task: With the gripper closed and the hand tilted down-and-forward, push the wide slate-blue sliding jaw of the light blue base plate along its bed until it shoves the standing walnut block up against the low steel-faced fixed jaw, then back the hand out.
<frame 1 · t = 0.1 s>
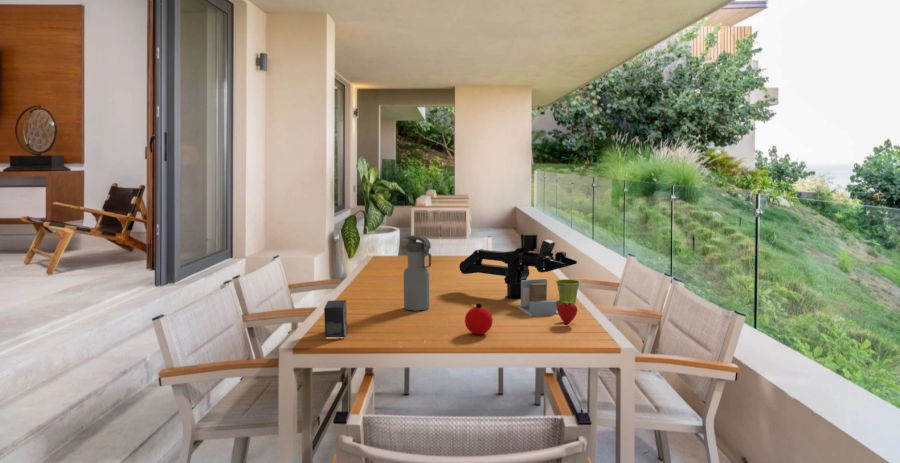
hand: (571, 263, 238), 17 cm above the table, tool horizontal, fingers open, 9 cm apart
ornament: (478, 334, 200), on the table
small box: (336, 335, 199), on the table
jaw: (534, 293, 232), point 6 cm above the table, slide at 0.0 cm
block: (537, 310, 229), point 1 cm above the table, touching light blue base plate
light blue base plate: (537, 312, 228), on the table
fixed jaw: (542, 315, 224), resting on light blue base plate
strawberry: (566, 325, 211), on the table
plant pot: (567, 303, 245), on the table
water bottle: (417, 309, 236), on the table
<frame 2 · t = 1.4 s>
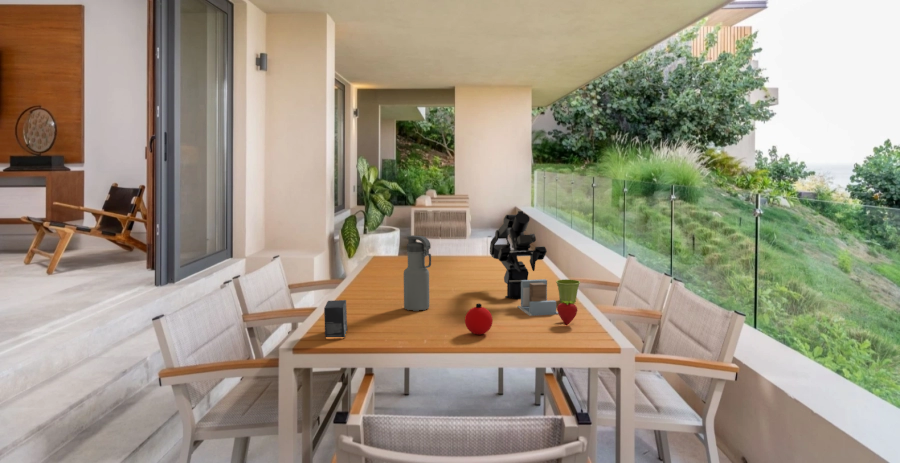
hand: (527, 270, 240), 14 cm above the table, tool tilted 45°, fingers open, 5 cm apart
nothing on the table moved.
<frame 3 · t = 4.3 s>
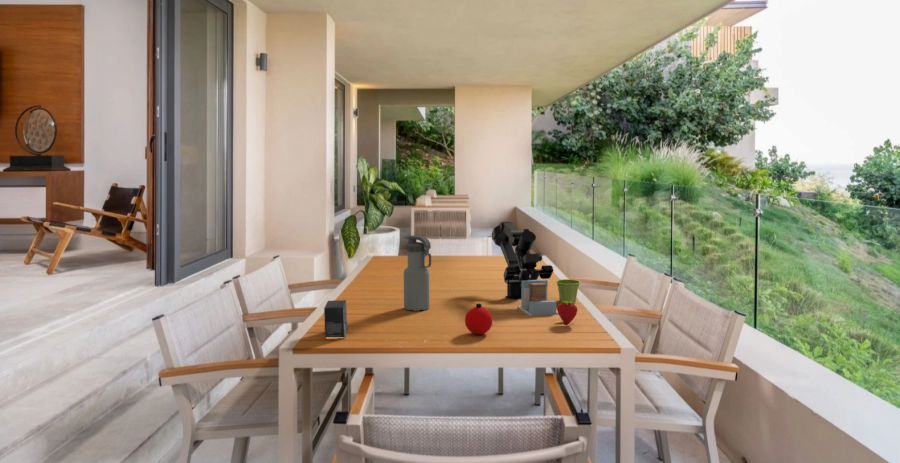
hand: (533, 290, 233), 7 cm above the table, tool tilted 45°, fingers closed, pressing on jaw
jaw: (534, 293, 232), point 6 cm above the table, slide at 0.5 cm, touching gripper
everything else where it was.
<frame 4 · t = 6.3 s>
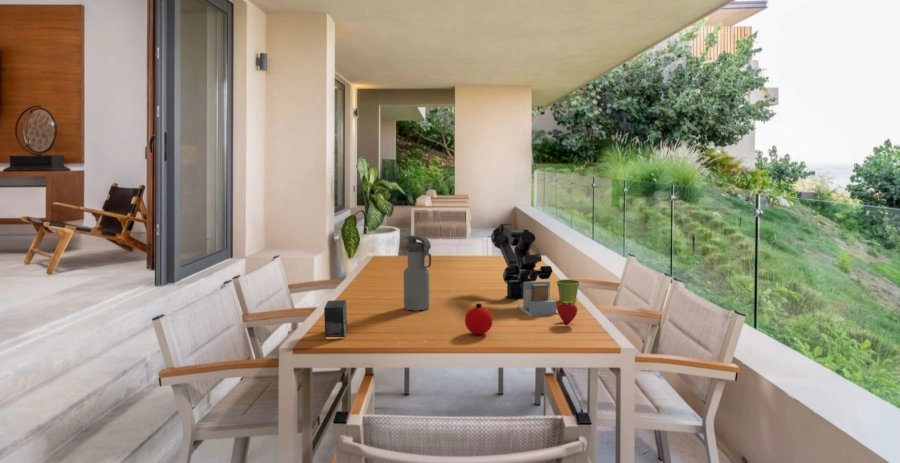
hand: (532, 291, 234), 7 cm above the table, tool tilted 45°, fingers closed
jaw: (536, 294, 229), point 6 cm above the table, slide at 3.0 cm
block: (539, 311, 227), point 1 cm above the table, touching fixed jaw, light blue base plate
everything else where it was.
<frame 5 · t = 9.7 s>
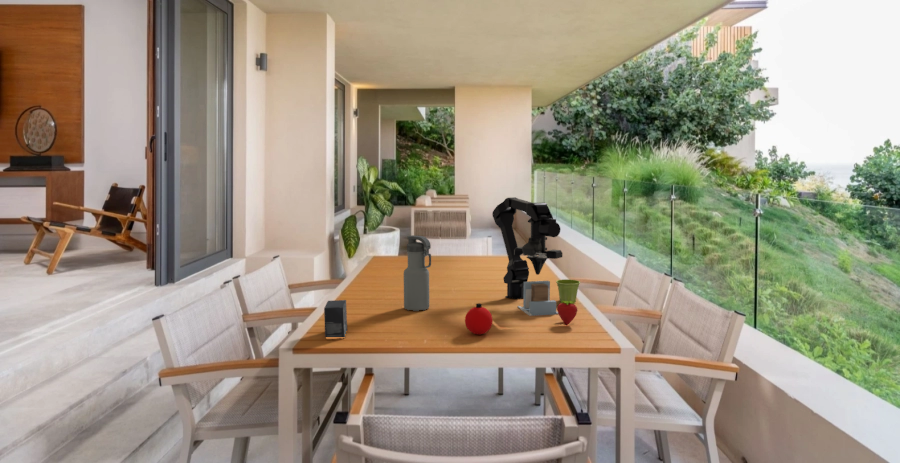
hand: (537, 274, 241), 12 cm above the table, tool pointing down, fingers closed
nothing on the table moved.
at the end: jaw slide at 3.0 cm; block 3.3 cm from the fixed jaw (horizontally); block tilted 0° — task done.
